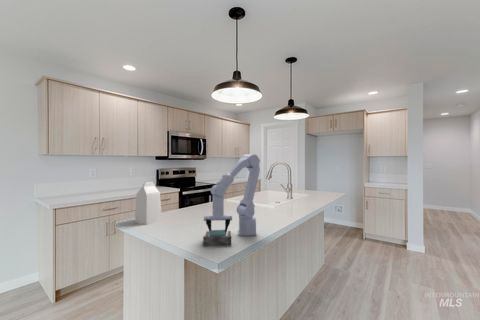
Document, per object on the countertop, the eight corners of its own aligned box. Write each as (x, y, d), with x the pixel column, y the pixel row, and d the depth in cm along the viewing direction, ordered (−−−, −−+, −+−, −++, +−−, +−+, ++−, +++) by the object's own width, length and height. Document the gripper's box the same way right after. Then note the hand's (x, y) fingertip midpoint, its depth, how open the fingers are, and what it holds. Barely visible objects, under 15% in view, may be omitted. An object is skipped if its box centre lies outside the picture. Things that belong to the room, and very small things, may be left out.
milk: (146, 225, 140) (146, 183, 139) (134, 222, 145) (134, 182, 145) (161, 220, 150) (161, 181, 150) (150, 218, 156) (150, 181, 156)
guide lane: (230, 233, 124) (230, 225, 124) (231, 245, 106) (231, 237, 106) (206, 233, 123) (206, 226, 123) (203, 246, 105) (203, 237, 105)
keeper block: (224, 239, 115) (224, 229, 115) (225, 243, 109) (225, 233, 109) (209, 240, 114) (209, 230, 114) (209, 244, 108) (209, 234, 108)
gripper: (231, 206, 120) (231, 231, 120) (204, 206, 119) (204, 232, 119) (232, 209, 113) (232, 236, 113) (203, 209, 112) (203, 236, 112)
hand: (218, 234), depth 115 cm, fingers open, 7 cm apart
